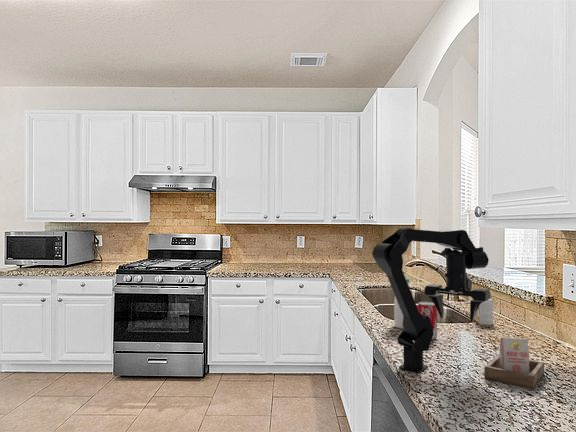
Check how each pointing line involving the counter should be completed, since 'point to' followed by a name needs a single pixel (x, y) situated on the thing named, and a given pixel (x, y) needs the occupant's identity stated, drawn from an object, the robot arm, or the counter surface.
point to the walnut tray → (514, 374)
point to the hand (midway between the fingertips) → (456, 319)
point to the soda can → (429, 314)
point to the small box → (485, 313)
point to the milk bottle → (398, 312)
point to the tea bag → (514, 355)
